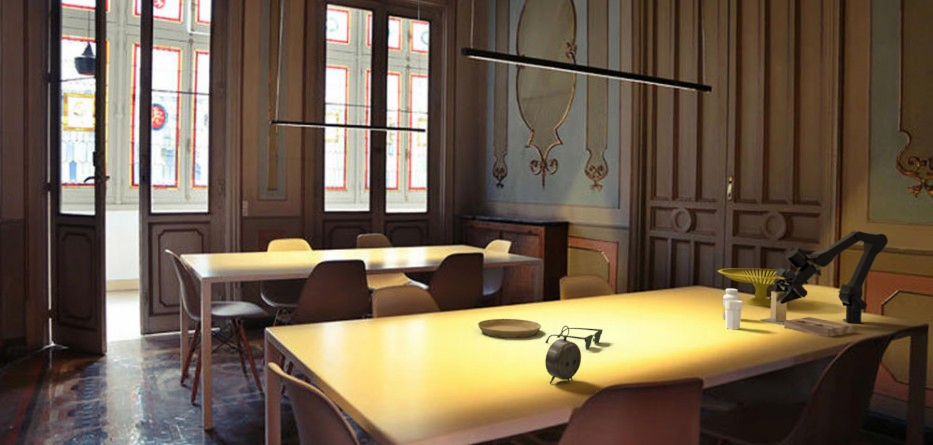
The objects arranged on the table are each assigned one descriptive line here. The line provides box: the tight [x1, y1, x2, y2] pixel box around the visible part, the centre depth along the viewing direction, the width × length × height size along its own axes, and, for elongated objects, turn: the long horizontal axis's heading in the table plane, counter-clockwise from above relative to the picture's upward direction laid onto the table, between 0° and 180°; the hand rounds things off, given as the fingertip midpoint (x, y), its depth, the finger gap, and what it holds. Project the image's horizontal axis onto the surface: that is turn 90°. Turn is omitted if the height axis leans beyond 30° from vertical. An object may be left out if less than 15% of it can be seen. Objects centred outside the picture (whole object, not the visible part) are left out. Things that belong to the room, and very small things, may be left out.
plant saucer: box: [477, 318, 542, 339], centre depth 255 cm, size 24×24×3 cm
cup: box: [724, 299, 743, 330], centre depth 267 cm, size 7×7×11 cm
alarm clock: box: [544, 325, 582, 385], centre depth 190 cm, size 11×5×16 cm, turn 129°
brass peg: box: [770, 290, 788, 322], centre depth 281 cm, size 4×4×12 cm
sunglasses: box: [545, 327, 603, 350], centre depth 238 cm, size 16×17×5 cm
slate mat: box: [759, 317, 785, 325], centre depth 282 cm, size 10×10×1 cm
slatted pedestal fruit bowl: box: [717, 267, 787, 307], centre depth 326 cm, size 40×40×15 cm
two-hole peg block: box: [783, 316, 854, 338], centre depth 265 cm, size 16×18×3 cm
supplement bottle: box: [722, 288, 741, 320], centre depth 286 cm, size 7×7×13 cm
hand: (775, 301), depth 281 cm, fingers open, 9 cm apart
